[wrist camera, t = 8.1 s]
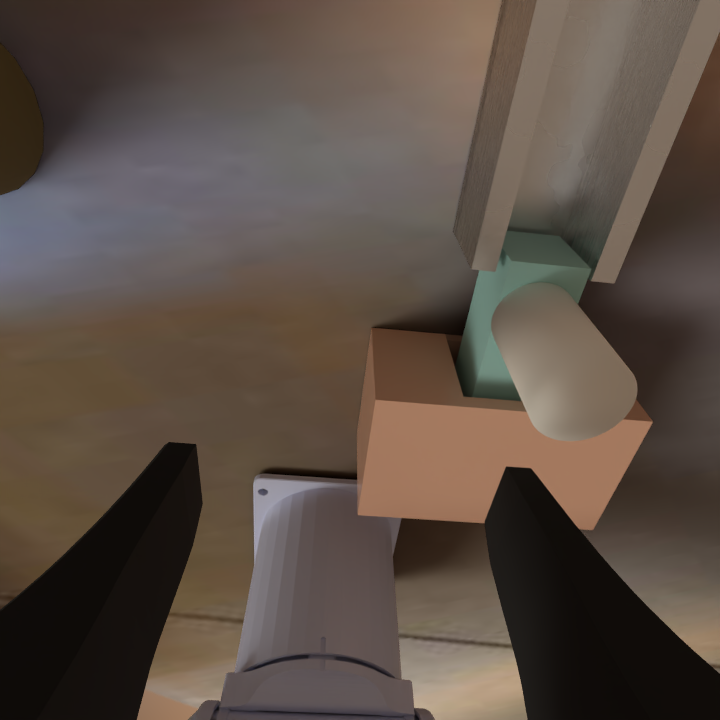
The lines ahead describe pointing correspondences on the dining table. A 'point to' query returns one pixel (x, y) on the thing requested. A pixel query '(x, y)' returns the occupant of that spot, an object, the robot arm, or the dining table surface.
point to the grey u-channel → (579, 122)
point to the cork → (17, 125)
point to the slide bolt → (542, 342)
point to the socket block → (467, 441)
